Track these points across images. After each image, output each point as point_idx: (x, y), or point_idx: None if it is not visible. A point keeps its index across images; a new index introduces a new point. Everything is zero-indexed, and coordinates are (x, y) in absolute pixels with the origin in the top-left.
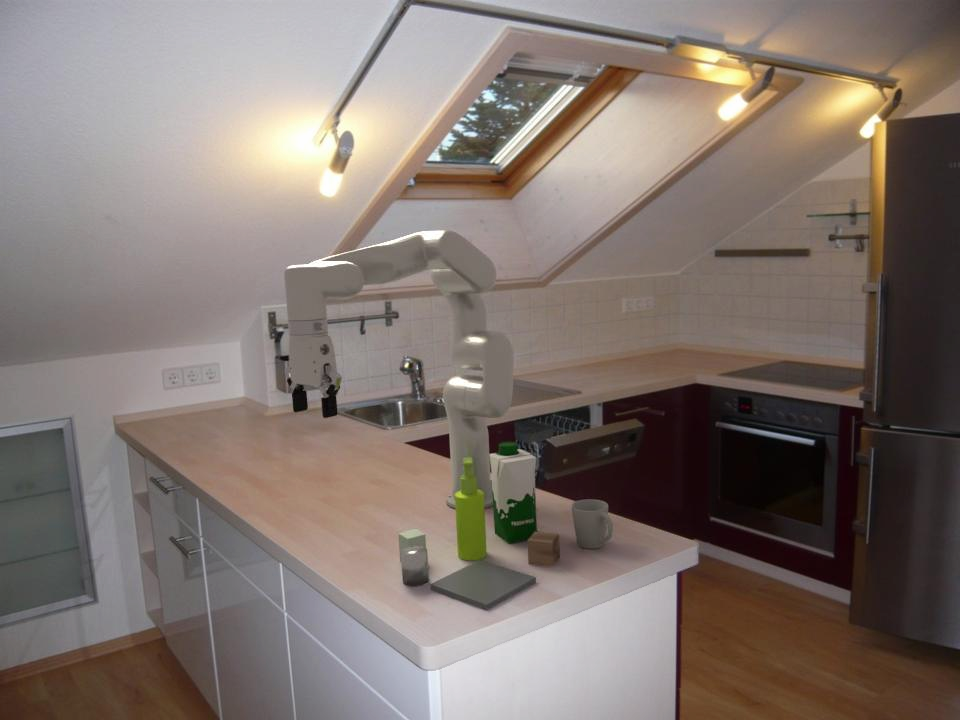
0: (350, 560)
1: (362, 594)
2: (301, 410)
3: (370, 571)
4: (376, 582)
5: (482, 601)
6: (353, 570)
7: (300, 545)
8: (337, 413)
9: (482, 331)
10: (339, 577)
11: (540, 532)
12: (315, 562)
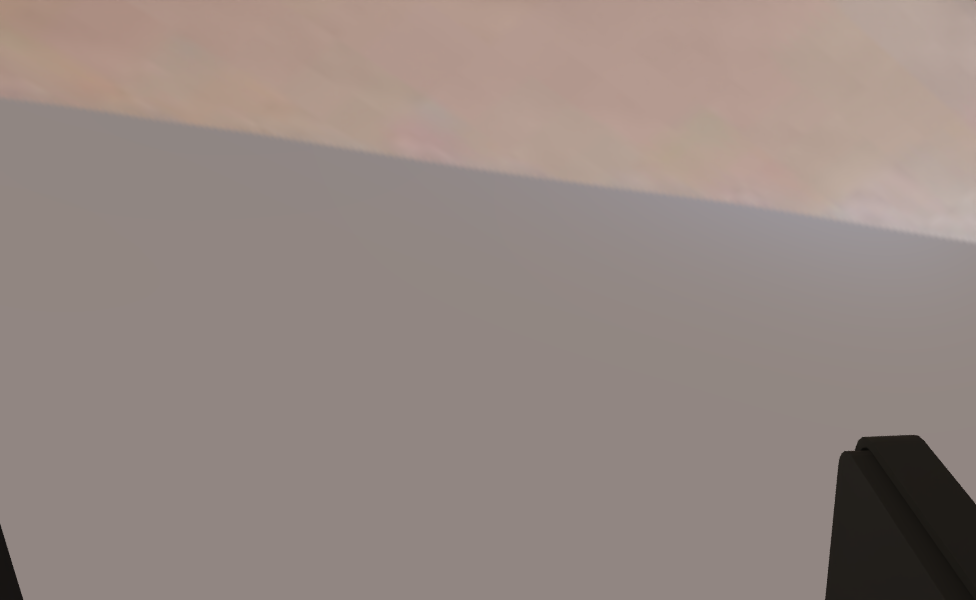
0: (555, 3)
1: (893, 193)
2: (15, 597)
3: (743, 20)
4: (859, 79)
5: None
6: (665, 67)
7: (186, 58)
8: (923, 440)
9: None
10: (673, 156)
11: None
12: (440, 131)
